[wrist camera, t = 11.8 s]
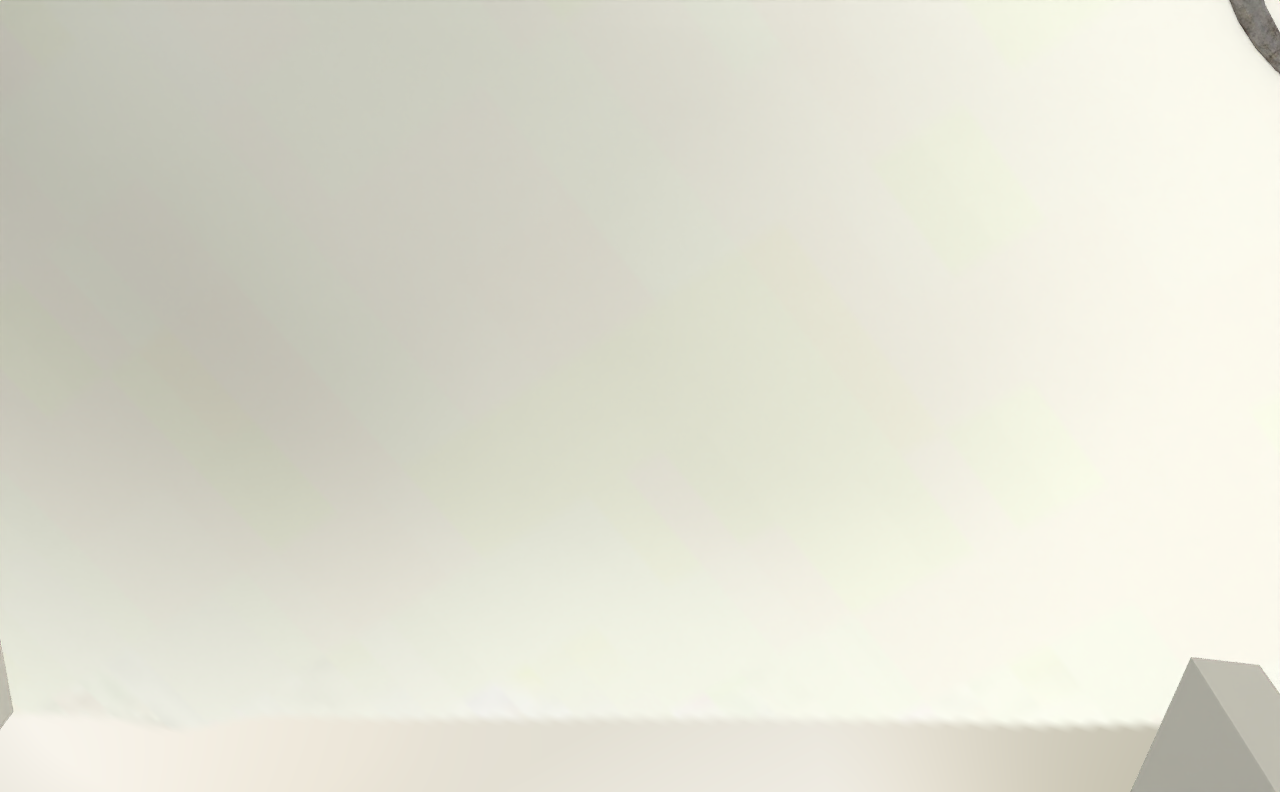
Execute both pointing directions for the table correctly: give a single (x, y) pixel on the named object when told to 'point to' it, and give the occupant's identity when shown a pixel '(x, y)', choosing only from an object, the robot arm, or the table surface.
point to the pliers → (1259, 28)
